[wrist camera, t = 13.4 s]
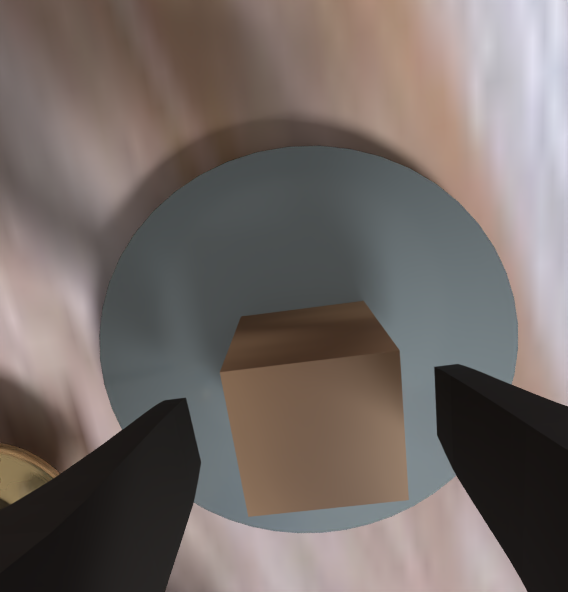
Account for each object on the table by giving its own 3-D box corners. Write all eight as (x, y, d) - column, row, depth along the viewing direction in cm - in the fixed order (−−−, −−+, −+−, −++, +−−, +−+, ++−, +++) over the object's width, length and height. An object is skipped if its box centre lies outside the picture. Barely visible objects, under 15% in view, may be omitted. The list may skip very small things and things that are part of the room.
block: (259, 423, 13) (248, 516, 9) (241, 316, 12) (219, 372, 8) (372, 410, 13) (408, 500, 9) (363, 300, 12) (399, 350, 8)
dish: (235, 554, 16) (232, 581, 15) (36, 275, 13) (12, 283, 12) (549, 423, 14) (572, 442, 13) (405, 63, 11) (419, 48, 10)
